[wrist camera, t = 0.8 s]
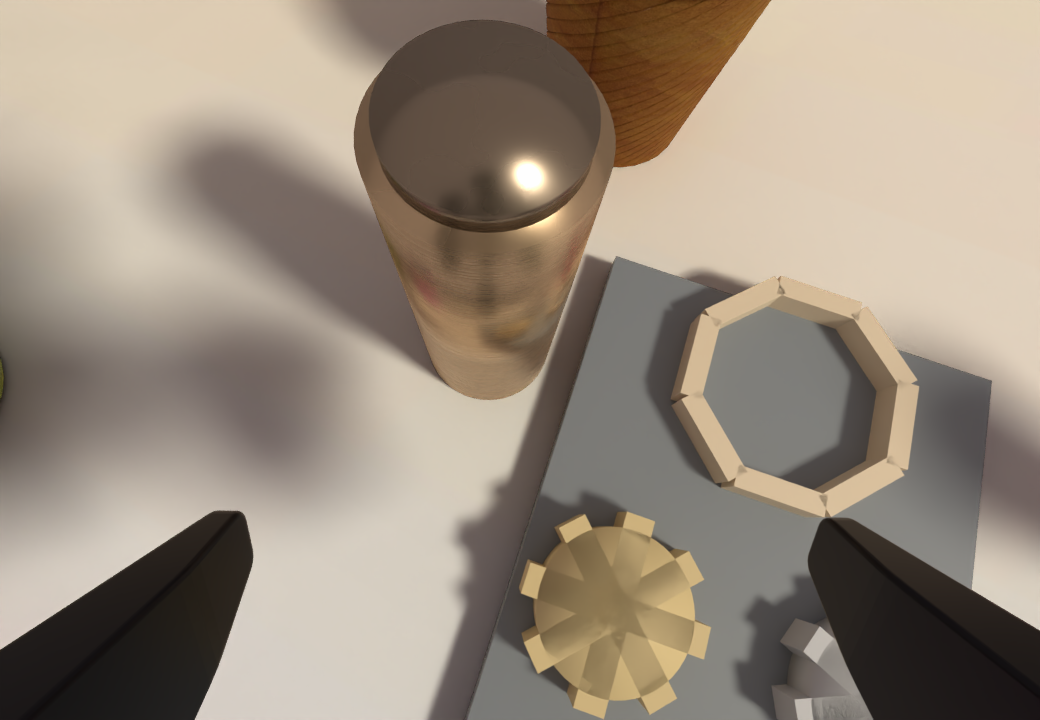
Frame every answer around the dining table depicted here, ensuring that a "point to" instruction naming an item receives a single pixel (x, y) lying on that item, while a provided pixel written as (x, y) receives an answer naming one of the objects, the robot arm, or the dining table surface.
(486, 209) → the metal can
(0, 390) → the plant pot
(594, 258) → the dining table surface
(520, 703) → the gear board
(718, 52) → the disposable coffee cup
